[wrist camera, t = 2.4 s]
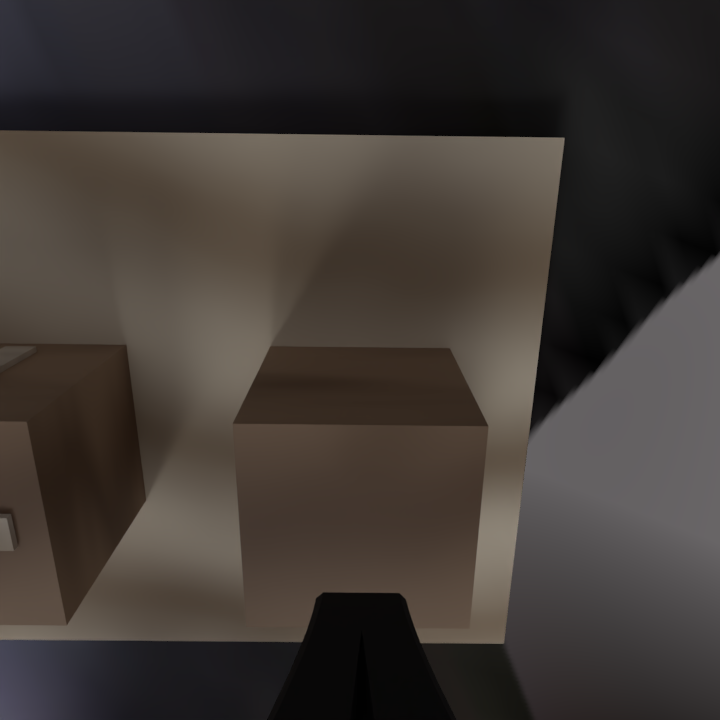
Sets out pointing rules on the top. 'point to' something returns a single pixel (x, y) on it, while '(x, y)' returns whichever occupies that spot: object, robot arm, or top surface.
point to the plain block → (359, 482)
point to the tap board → (272, 320)
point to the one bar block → (63, 474)
